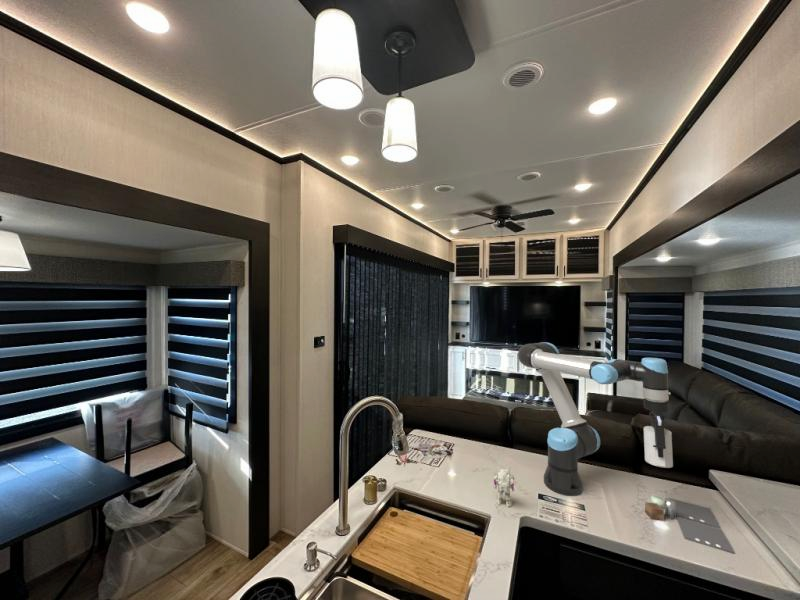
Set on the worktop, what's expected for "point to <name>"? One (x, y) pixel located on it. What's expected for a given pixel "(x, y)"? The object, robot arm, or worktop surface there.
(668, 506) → the metal peg
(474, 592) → the worktop surface
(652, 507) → the walnut block
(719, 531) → the pad three
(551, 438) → the robot arm
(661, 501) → the pale green domed piece
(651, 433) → the white cylinder
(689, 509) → the pad two
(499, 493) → the figurine
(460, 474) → the worktop surface
